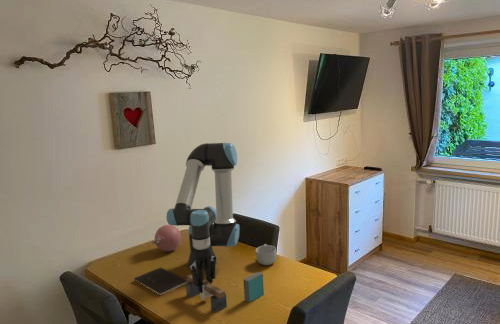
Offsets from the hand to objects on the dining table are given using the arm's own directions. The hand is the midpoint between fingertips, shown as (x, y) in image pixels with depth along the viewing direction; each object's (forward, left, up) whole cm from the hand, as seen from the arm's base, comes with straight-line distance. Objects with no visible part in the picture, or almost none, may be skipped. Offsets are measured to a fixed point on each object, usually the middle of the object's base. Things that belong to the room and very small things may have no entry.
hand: (205, 296), depth 168 cm
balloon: (-62, +18, -2) cm, 65 cm away
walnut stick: (0, 0, +4) cm, 4 cm away
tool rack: (0, 0, -2) cm, 2 cm away
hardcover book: (-31, -4, -3) cm, 31 cm away
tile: (+14, +16, -2) cm, 21 cm away
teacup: (-7, +46, -2) cm, 47 cm away
